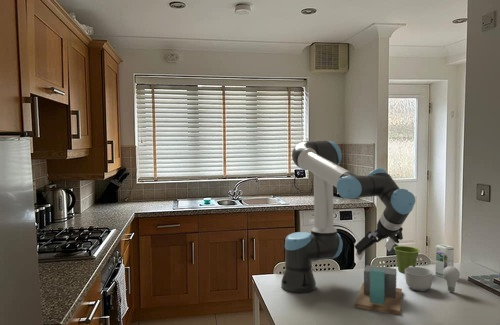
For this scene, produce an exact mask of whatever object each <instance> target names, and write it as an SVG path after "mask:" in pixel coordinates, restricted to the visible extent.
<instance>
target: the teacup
mask: <svg viewBox="0 0 500 325" xmlns="http://www.w3.org/2000/svg"><path fill="white" fill-rule="evenodd" d="M404 278H405V283H406V285H407V286H408V287H409V288H410V289H412V290H414V291H418V292H424V291H428V289H430V288H431V287H432V285H433V271H432V269H429V268H427V267H422V266H415V267H413V266H409V267H408V268H406V269H405V273H404Z"/></svg>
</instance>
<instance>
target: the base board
mask: <svg viewBox="0 0 500 325" xmlns="http://www.w3.org/2000/svg"><path fill="white" fill-rule="evenodd" d="M402 294H403V289H402V288H400V287H399V288H398V287H396V299H394V298H388V297H385V302H384V304H379V303H372V302H370V295H368V294H364V282H363V283H361V286H360V289H359V292H358V294H357V297H356V300H355V302H354V308H356V309H361V310H362V309H363V310H368V311H373V312H374V311H375V312H380V313H385V314H386V313H387V314H393V315H398V316H401V310H402V309H401V307H402Z"/></svg>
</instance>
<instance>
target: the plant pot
mask: <svg viewBox="0 0 500 325" xmlns="http://www.w3.org/2000/svg"><path fill="white" fill-rule="evenodd" d="M393 249H394V253H395V255H396V264H397V270H398V271H399V272H400V273H403V274H405V269H406V268H408V267H409V266H413V267H416V265H417V264H416V263H417V259H418V256H419V253H420V249H419V248H418V247H413V246H407V245H404V246H403V245H396V246H393Z"/></svg>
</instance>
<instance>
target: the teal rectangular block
mask: <svg viewBox="0 0 500 325" xmlns="http://www.w3.org/2000/svg"><path fill="white" fill-rule="evenodd" d="M370 302H372V303H379V304H384V302H385V270H382V269H373V268H371V269H370Z"/></svg>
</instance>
